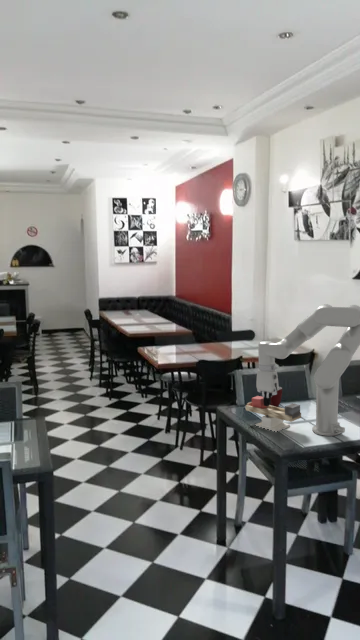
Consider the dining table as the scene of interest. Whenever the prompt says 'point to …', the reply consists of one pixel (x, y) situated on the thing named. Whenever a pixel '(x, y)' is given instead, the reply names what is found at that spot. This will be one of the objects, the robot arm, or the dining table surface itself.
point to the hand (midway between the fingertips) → (267, 405)
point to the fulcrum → (272, 423)
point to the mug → (276, 398)
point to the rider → (258, 402)
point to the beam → (278, 411)
